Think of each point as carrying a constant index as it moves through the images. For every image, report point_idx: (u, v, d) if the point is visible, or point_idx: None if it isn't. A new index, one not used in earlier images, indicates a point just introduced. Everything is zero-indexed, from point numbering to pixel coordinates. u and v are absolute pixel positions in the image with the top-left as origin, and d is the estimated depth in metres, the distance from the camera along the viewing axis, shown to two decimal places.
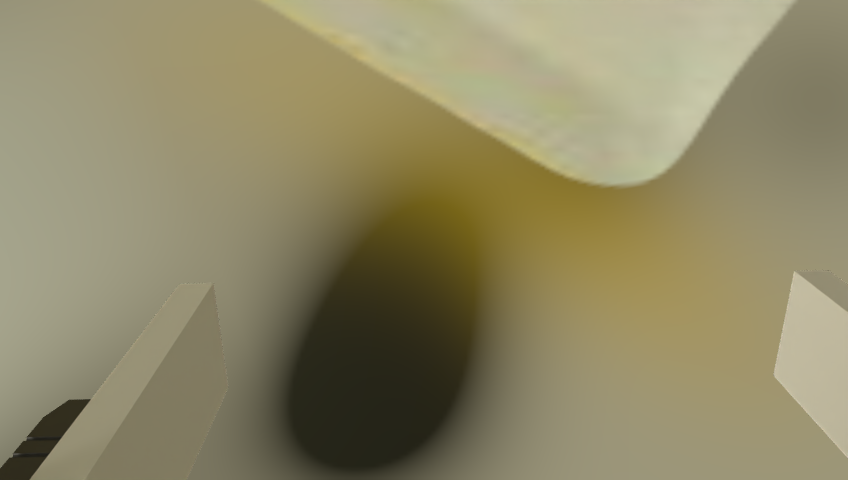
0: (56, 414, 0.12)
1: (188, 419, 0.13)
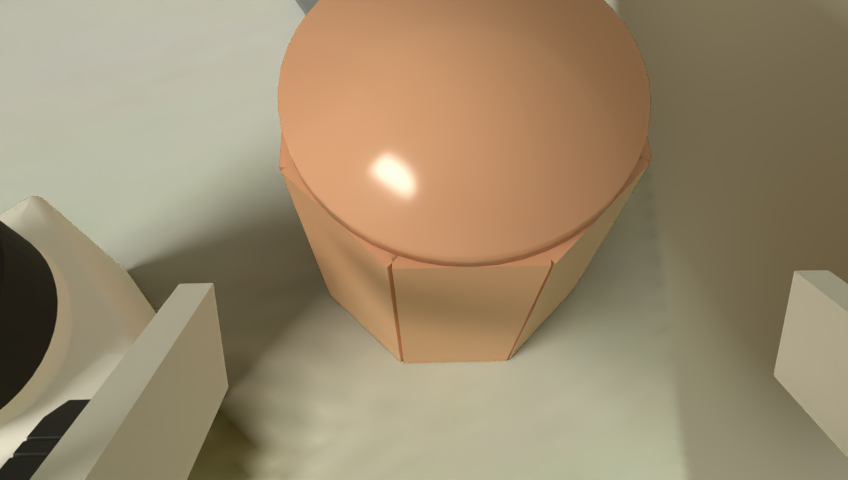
0: (56, 414, 0.12)
1: (188, 419, 0.13)
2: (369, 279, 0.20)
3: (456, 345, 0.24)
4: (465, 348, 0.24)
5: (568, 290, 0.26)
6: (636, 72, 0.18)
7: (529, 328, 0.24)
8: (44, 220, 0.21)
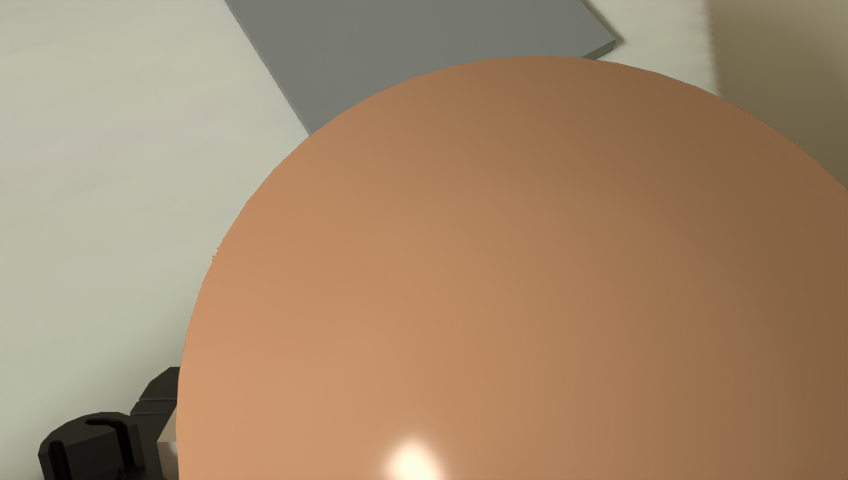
0: (161, 379, 0.13)
1: None
2: None
3: None
4: None
5: None
6: None
7: None
8: None
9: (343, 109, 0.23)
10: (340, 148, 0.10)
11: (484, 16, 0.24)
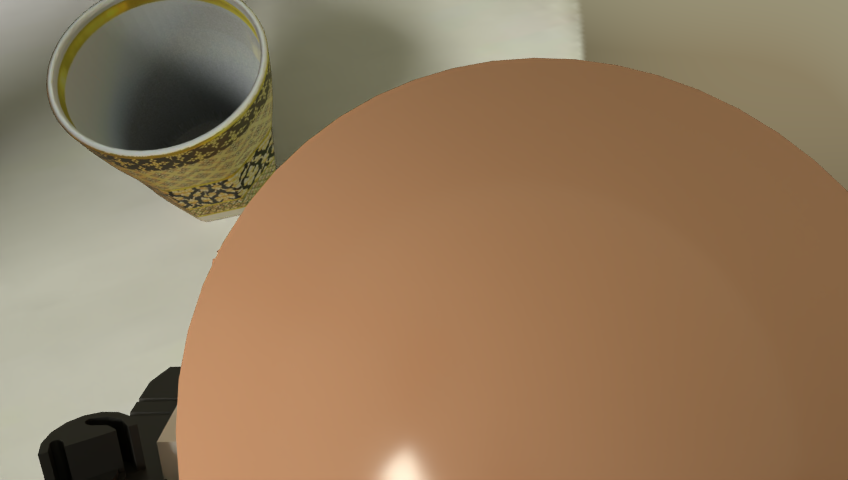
0: (161, 379, 0.13)
1: None
2: None
3: None
4: None
5: None
6: None
7: None
8: None
9: None
10: (340, 151, 0.10)
11: None
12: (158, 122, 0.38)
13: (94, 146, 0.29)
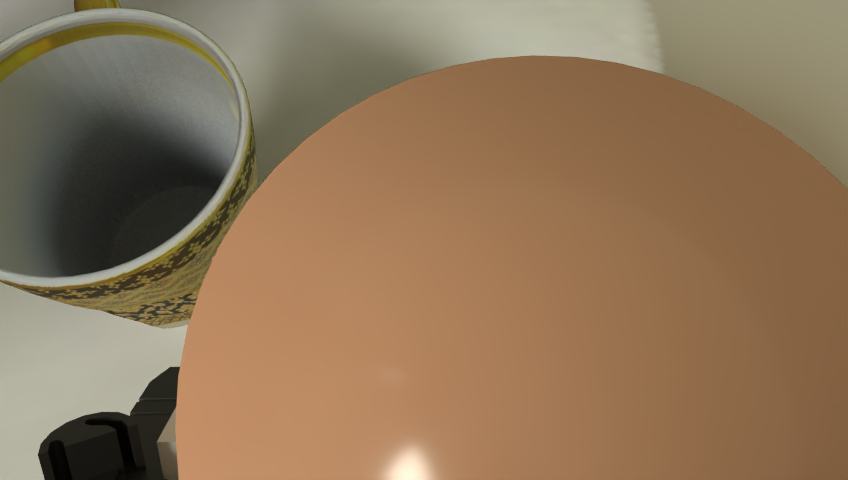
0: (161, 379, 0.13)
1: None
2: None
3: None
4: None
5: None
6: None
7: None
8: None
9: None
10: (339, 148, 0.10)
11: None
12: (103, 193, 0.28)
13: None
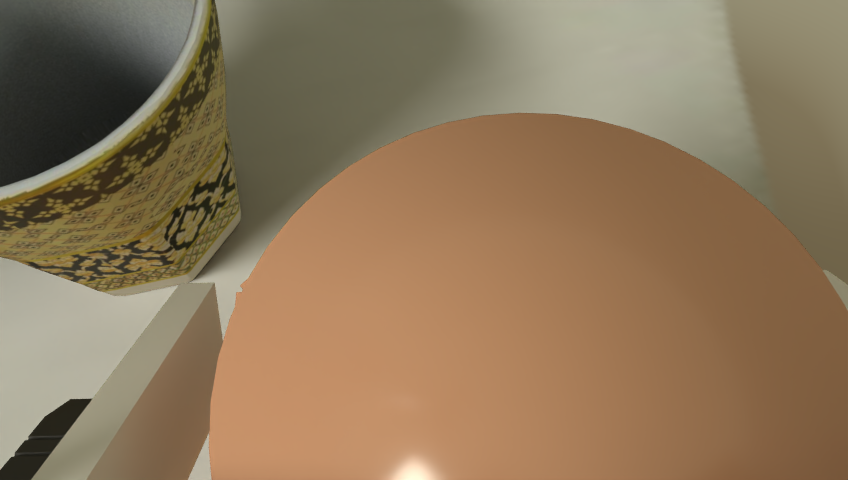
0: (57, 414, 0.12)
1: (189, 419, 0.13)
2: None
3: None
4: None
5: None
6: None
7: None
8: None
9: None
10: (348, 198, 0.11)
11: None
12: (41, 127, 0.23)
13: None
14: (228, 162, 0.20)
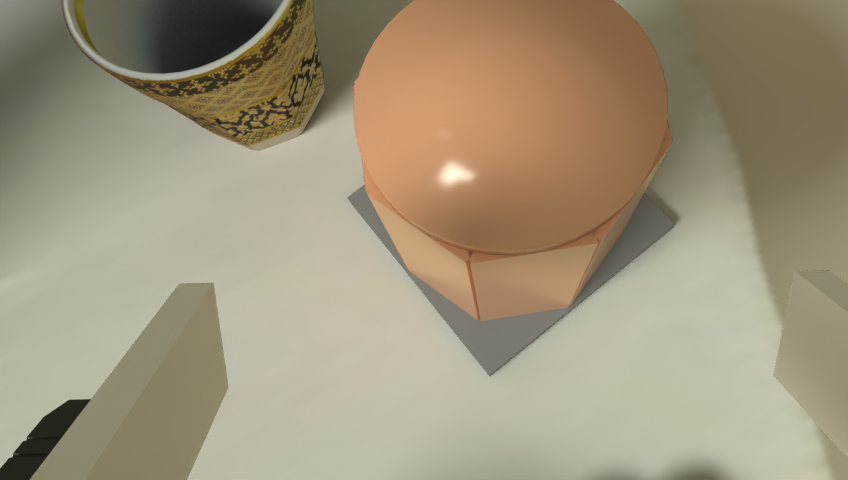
0: (56, 414, 0.12)
1: (188, 419, 0.13)
2: (449, 267, 0.24)
3: (524, 303, 0.28)
4: (532, 304, 0.29)
5: (615, 241, 0.30)
6: (651, 67, 0.21)
7: (585, 281, 0.28)
8: None
9: None
10: (401, 28, 0.23)
11: None
12: (189, 47, 0.35)
13: (127, 74, 0.26)
14: (317, 45, 0.32)
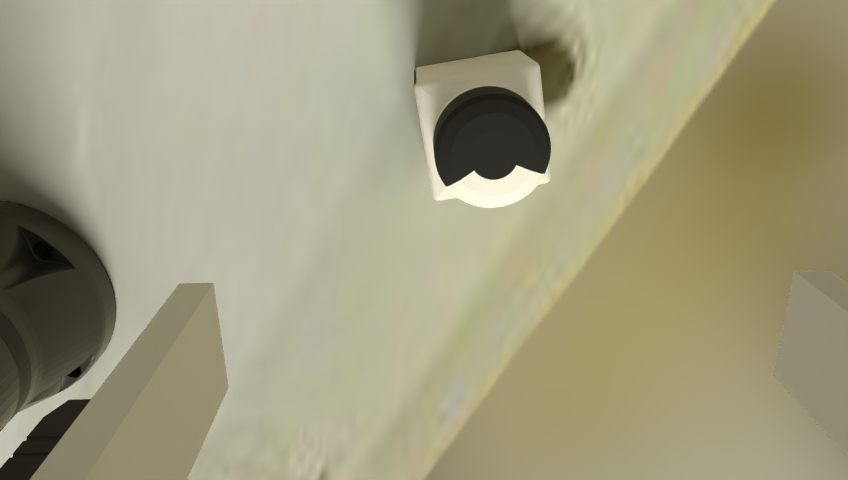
0: (56, 414, 0.12)
1: (188, 419, 0.13)
2: None
3: None
4: None
5: None
6: None
7: None
8: (435, 84, 0.38)
9: None
10: None
11: None
12: None
13: None
14: None
